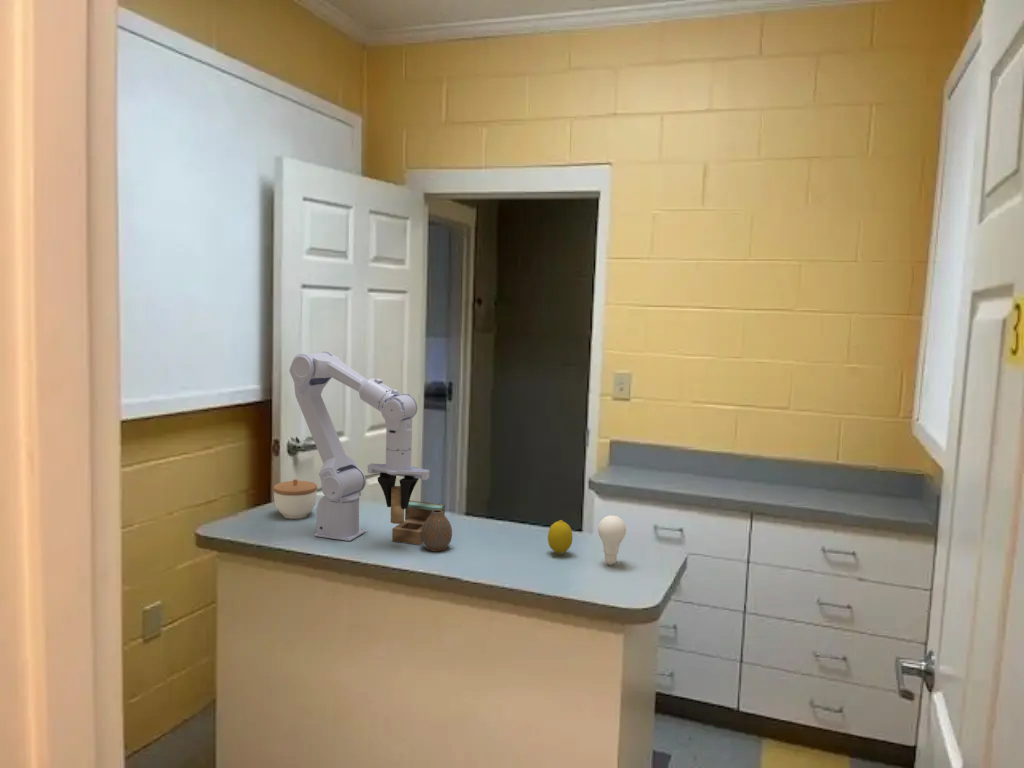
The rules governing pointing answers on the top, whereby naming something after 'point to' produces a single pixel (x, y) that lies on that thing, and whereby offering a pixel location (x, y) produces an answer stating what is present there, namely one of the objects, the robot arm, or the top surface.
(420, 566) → the top surface
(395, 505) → the oak peg
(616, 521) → the lightbulb
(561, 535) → the lemon
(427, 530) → the vase
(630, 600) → the top surface
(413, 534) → the brown boxy frame piece
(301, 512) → the lidded jar
